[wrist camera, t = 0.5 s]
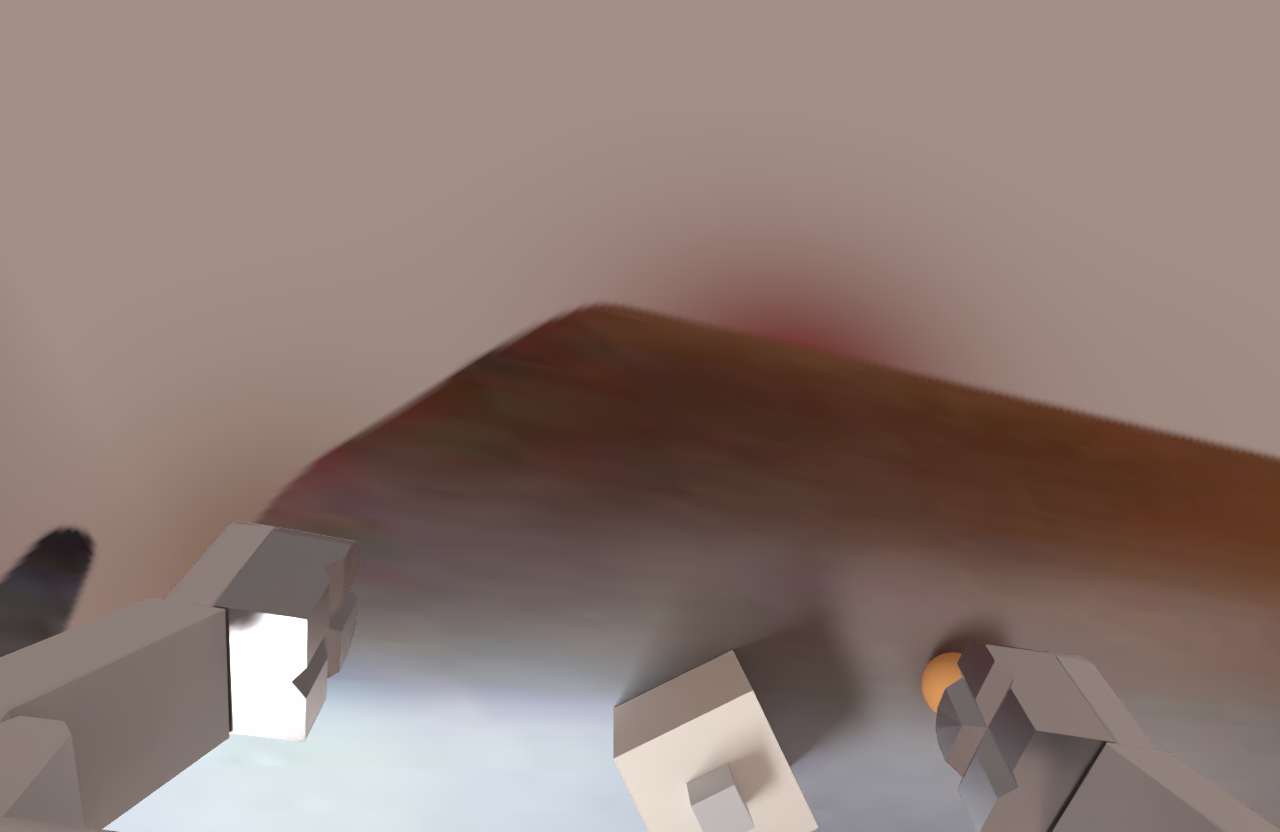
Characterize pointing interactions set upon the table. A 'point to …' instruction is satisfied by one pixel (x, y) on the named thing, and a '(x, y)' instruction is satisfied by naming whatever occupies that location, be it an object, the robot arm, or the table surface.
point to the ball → (939, 677)
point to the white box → (707, 756)
